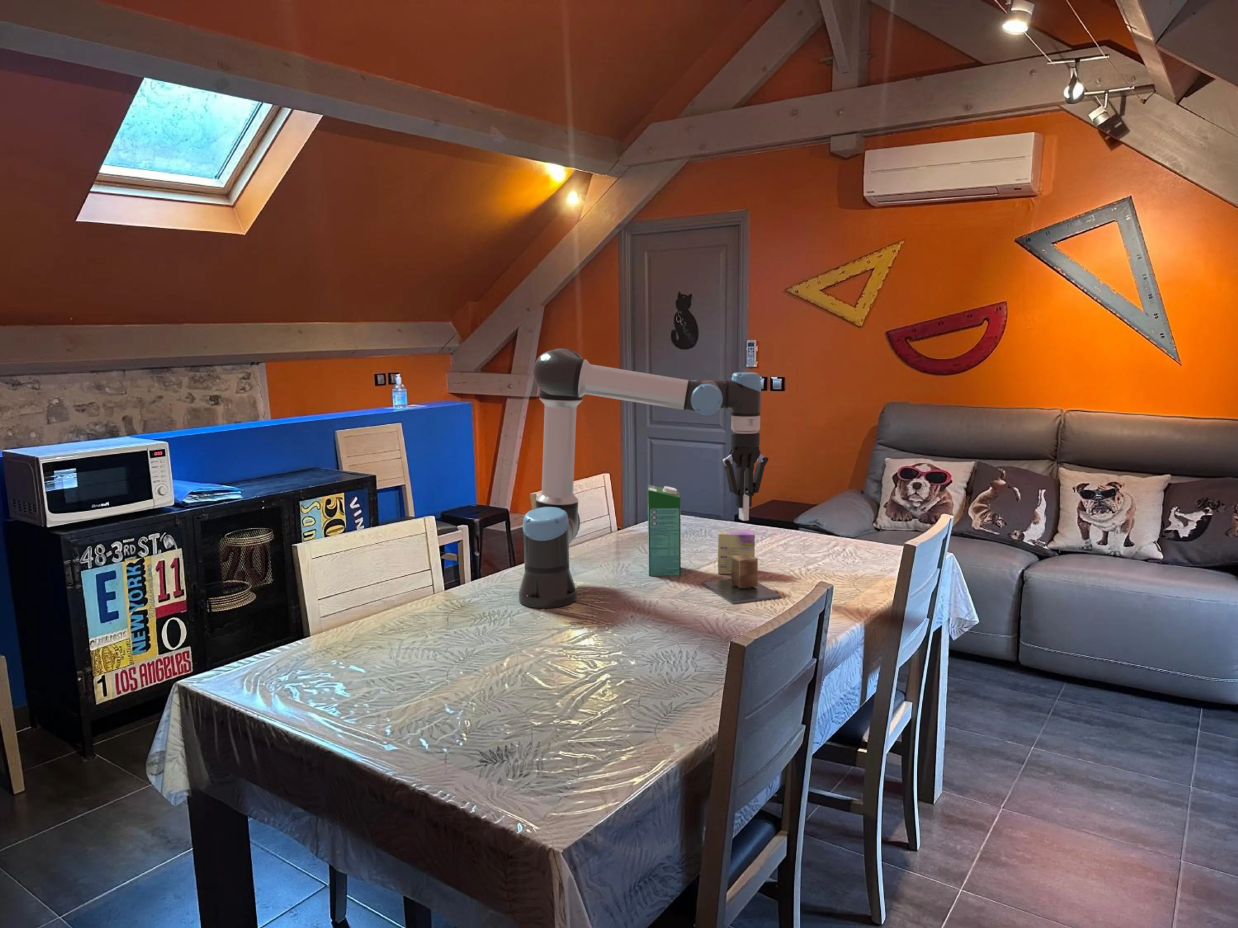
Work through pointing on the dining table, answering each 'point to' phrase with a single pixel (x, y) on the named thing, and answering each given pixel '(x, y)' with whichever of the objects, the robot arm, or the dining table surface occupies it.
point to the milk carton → (664, 531)
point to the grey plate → (740, 592)
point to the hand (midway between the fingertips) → (743, 519)
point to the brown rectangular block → (744, 570)
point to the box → (733, 547)
